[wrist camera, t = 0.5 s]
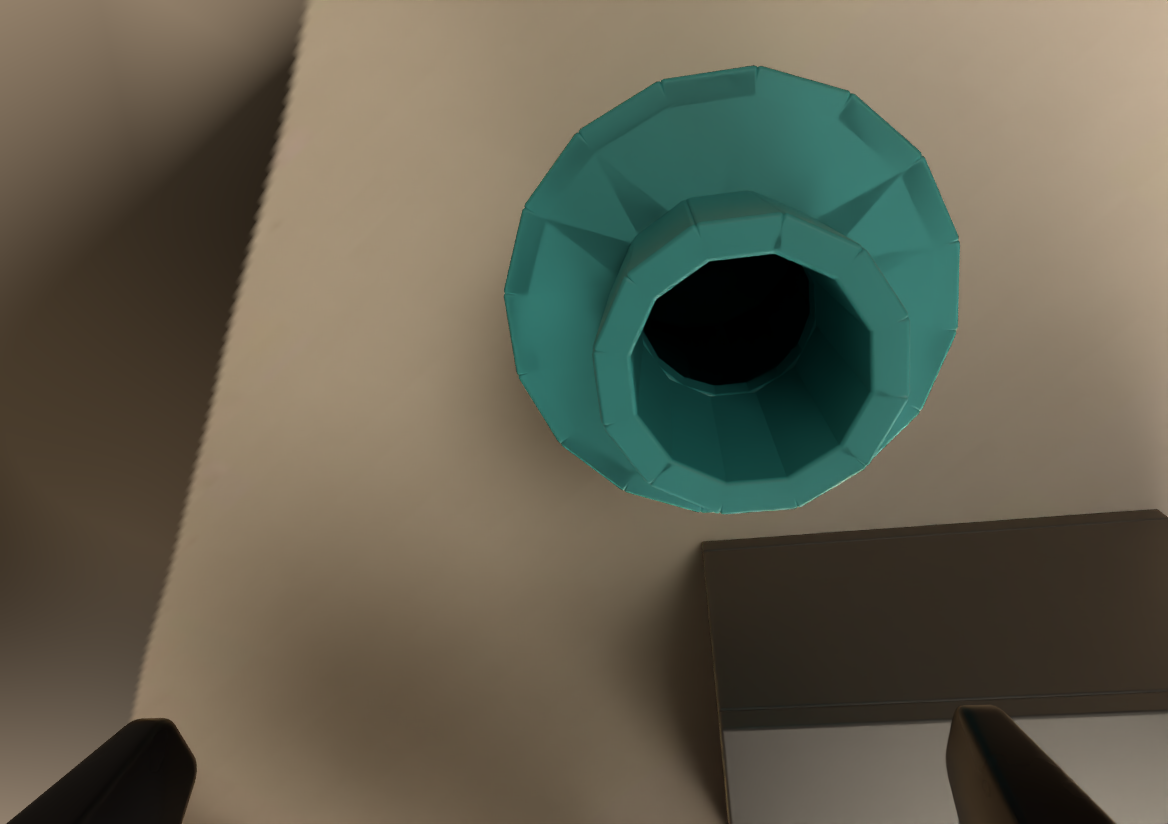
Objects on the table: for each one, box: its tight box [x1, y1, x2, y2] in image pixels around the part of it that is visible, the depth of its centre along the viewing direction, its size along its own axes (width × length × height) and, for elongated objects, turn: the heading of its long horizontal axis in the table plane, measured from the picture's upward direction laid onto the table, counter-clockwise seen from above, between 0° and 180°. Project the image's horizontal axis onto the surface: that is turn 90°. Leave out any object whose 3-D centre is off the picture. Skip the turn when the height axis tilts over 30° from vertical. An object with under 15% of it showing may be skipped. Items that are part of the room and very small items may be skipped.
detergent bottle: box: [504, 65, 960, 514], centre depth 15 cm, size 6×6×14 cm
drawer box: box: [702, 509, 1168, 824], centre depth 22 cm, size 13×12×8 cm
